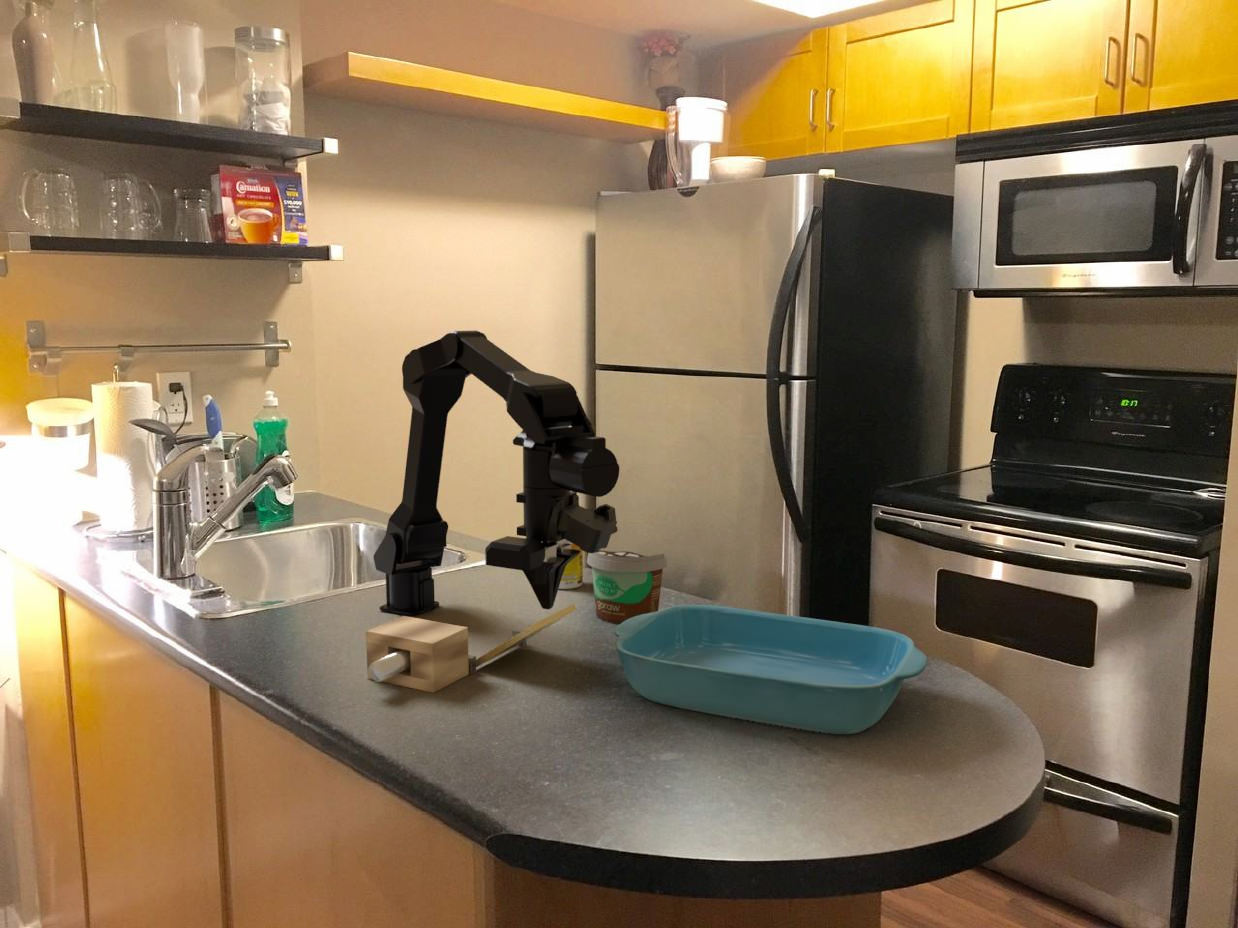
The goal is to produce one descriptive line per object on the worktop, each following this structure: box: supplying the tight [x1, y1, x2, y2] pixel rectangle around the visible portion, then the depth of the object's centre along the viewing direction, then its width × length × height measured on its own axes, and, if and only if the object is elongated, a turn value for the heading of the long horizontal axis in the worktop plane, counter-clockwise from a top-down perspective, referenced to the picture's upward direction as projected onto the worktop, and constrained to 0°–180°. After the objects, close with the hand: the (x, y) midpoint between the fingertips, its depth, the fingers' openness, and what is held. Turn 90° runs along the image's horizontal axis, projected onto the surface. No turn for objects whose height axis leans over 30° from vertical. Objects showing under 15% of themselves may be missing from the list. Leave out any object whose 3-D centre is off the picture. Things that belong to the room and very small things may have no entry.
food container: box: [586, 549, 668, 625], centre depth 151 cm, size 12×6×10 cm, turn 62°
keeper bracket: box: [468, 628, 528, 675], centre depth 136 cm, size 2×13×2 cm, turn 152°
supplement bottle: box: [558, 542, 584, 590], centre depth 169 cm, size 6×6×10 cm
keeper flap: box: [476, 603, 577, 668], centre depth 133 cm, size 11×10×1 cm
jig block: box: [365, 615, 470, 694], centre depth 129 cm, size 10×7×6 cm
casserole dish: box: [613, 604, 928, 735], centre depth 123 cm, size 37×22×7 cm, turn 64°
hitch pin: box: [369, 649, 411, 683], centre depth 128 cm, size 4×13×4 cm, turn 152°
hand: (547, 608), depth 131 cm, fingers closed
